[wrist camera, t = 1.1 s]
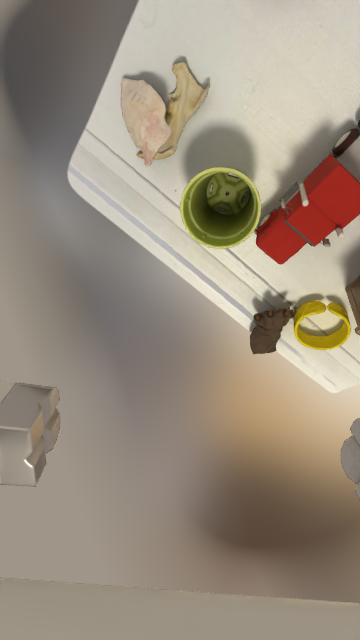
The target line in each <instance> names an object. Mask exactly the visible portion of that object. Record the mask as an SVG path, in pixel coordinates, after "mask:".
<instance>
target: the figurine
mask: <svg viewBox="0 0 360 640" xmlns="http://www.w3.org/2000/svg"><path fill="white" fill-rule="evenodd" d="M295 314H296V308H295V310H294V312H293V310H290V308H288V309H278V310H269V311H265V312H263V313H258V314H255V315H254V320H255V321H256V322H257V323H258V324H257V326H256V328H254V330H253V332H252V333H251V335H250V346H251V350H252V352H253V354H258V353H259V354H262V353H271V352H274V351H276V343H277V341H278V339H279V338H280V336H281V335H280V332H281V331H282V328H283V326H285V325H286V324H287V322H288V321H289V319H290V318H292V317H293V316H294V315H295Z"/></svg>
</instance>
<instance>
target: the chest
mask: <svg viewBox="0 0 360 640" xmlns="http://www.w3.org/2000/svg"><path fill="white" fill-rule="evenodd" d="M346 292H347V295H348V299H349V302H350V305H351V308H352V311H353V314H354V317H355V320H356V323H357V326H359V325H360V276H359V277H358V278H357V279H356V280H355V281H354V282H353V283H352V284H350V285H349V286H348V287H347V288H346Z"/></svg>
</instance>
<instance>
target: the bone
mask: <svg viewBox="0 0 360 640" xmlns="http://www.w3.org/2000/svg"><path fill="white" fill-rule="evenodd" d="M172 71H173V73H174V74H176V78H177V88H176V91H175V92H174V93H173V94H169V102H170V103H169V104H168V108H167V110H166V113H165V121H166V123H167V124H168V125H169V126H171V127H172V132H171V135H170V137H169V138H168V140H167V141H166V142H165V143H164V144H163V145H162V146H161V147H160V148H159V150H158V151H157V152H156V154H155V155H154V156H153V158H152V159H164V158H167V157H169V156H171V155H172V154H174V153H175V151H176V149H177V144H178V140H179V137H180V135H181V133H182V131H183V128H184V125H185V124H186V122H187V121H188V120H189V119H190V118H191V117H192V116H193V115H194V114H195V113H196V112H197V110H198V108H199V107H200V105H201V104H202V103H203V102H204V100H205V98H206V96H207V94H208V91H209V87H210V83H208V86H207V87H206V88H205V89H203V88H202V87H200V86H199V85H198V84H197V82H196V81H195V79H194V78H193V77H192V75H191V74H190V72H189V71H188V69H187V65H186V64H185V63H184V62H182V63H177V64H175V65H174V67H173V68H172ZM137 156H138V157H141V158H145V155H144V154H143V153H138V154H137Z"/></svg>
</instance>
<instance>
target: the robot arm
mask: <svg viewBox="0 0 360 640" xmlns="http://www.w3.org/2000/svg"><path fill="white" fill-rule="evenodd" d="M59 400H60V398H59V390H58V389H57V388H56V387H49V386H41V385H33V384H25V383H15V382H7V381H0V485H16V486H33V487H36V485H37V482H38V480H39V478H40V476H41V474H42V472H43V469H44V467H45V465H46V453H48V452H49V451H51V450H52V449H53V447H54V445H55V443H56V440H57V437H58V433H59V429H60V412H59V411H58V410H57V409H56V406H57V404H58V402H59ZM350 430H351V433H352V436H351V437H349V438H348V439H346V440H345V441H344V443H343V446H342V448H341V463H342V467H343V469H344V471H345V473H346V475H347V477H348V478H350V479H351V480H352V481H353V482H354V483H356V484H357V485H356V489H355V492H356V494H357V496H358V498H359V499H360V418H358V419H356V420H355V421H354V422H353V424H352V426H351V428H350ZM0 640H360V603H348V602H334V601H320V600H306V599H293V598H279V597H265V596H251V595H237V594H222V593H208V592H194V591H180V590H166V589H152V588H139V587H125V586H111V585H98V584H84V583H70V582H56V581H42V580H29V579H15V578H1V577H0Z"/></svg>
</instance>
